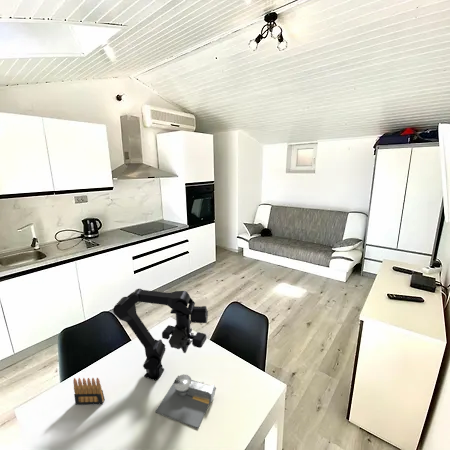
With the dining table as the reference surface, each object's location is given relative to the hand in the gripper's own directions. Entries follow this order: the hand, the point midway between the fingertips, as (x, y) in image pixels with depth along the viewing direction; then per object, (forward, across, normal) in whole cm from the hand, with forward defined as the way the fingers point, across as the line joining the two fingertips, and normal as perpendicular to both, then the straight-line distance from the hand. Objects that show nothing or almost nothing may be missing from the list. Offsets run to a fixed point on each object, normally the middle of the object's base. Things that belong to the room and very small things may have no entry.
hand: (185, 352), depth 106 cm
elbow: (+11, +8, -8) cm, 15 cm away
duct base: (+12, +6, -11) cm, 17 cm away
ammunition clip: (+12, -30, -24) cm, 40 cm away
